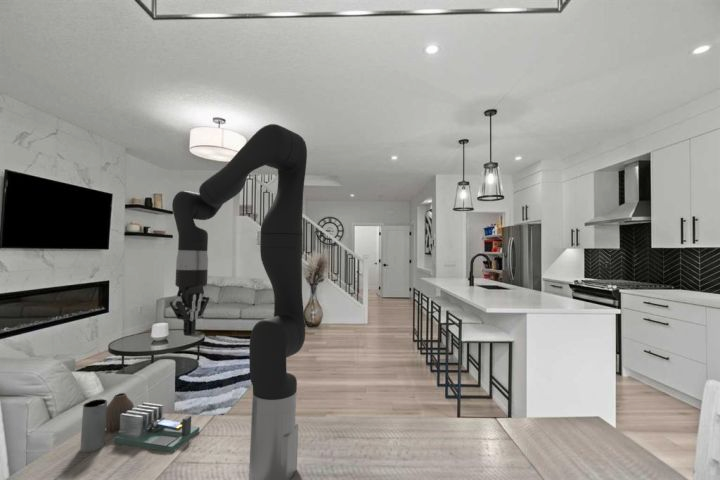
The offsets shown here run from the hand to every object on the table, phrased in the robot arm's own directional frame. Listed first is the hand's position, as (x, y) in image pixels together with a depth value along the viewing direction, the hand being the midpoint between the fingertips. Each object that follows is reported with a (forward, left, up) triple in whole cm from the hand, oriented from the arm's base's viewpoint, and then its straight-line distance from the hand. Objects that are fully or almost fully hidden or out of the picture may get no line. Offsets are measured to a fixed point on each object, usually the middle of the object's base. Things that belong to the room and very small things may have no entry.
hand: (189, 335), depth 92 cm
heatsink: (+9, +3, -24) cm, 26 cm away
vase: (+18, +2, -26) cm, 31 cm away
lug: (-1, +2, -24) cm, 24 cm away
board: (+5, +3, -25) cm, 26 cm away
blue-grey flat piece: (+3, +2, -23) cm, 23 cm away
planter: (+16, +11, -26) cm, 32 cm away
